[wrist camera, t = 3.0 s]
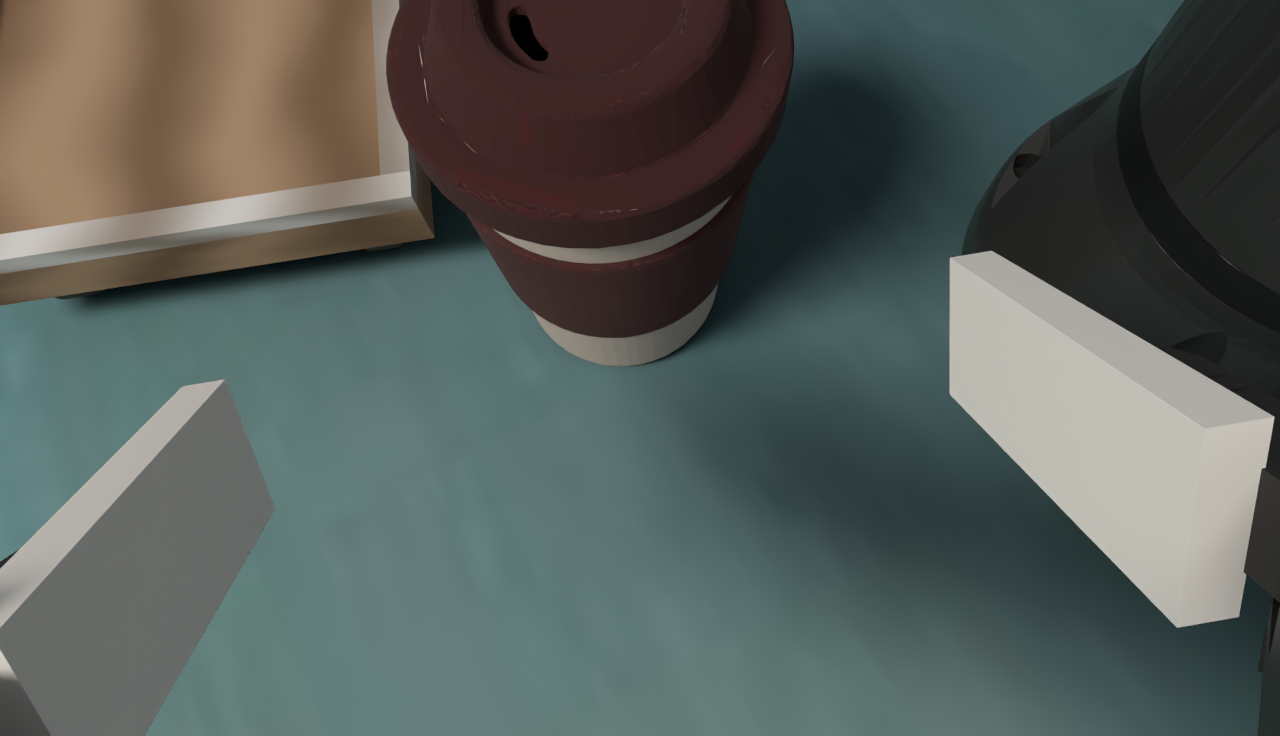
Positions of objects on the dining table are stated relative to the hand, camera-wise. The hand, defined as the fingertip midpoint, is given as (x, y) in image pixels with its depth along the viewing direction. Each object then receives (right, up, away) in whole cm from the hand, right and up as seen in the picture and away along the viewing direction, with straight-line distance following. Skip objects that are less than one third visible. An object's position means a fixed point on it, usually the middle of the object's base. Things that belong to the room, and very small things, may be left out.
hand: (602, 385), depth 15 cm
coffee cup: (0, +4, +18) cm, 18 cm away
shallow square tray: (-16, +10, +21) cm, 28 cm away
